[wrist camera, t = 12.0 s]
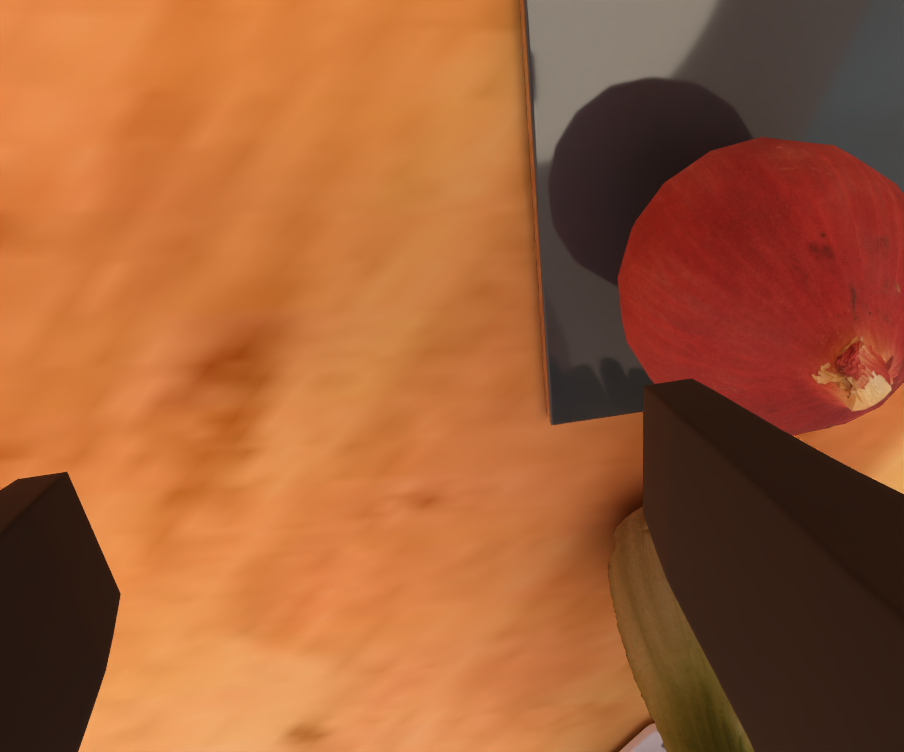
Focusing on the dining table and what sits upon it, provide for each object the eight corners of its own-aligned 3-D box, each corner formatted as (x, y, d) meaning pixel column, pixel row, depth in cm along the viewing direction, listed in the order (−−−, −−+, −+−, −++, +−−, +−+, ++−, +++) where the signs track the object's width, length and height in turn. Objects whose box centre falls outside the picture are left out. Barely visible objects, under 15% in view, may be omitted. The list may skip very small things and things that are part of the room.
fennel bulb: (561, 539, 25) (707, 989, 14) (676, 429, 23) (937, 845, 13) (686, 615, 27) (893, 1053, 16) (799, 520, 25) (1109, 938, 15)
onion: (854, 125, 19) (1150, 242, 12) (768, 346, 21) (966, 549, 14) (616, 87, 18) (781, 189, 11) (557, 323, 20) (659, 528, 13)
